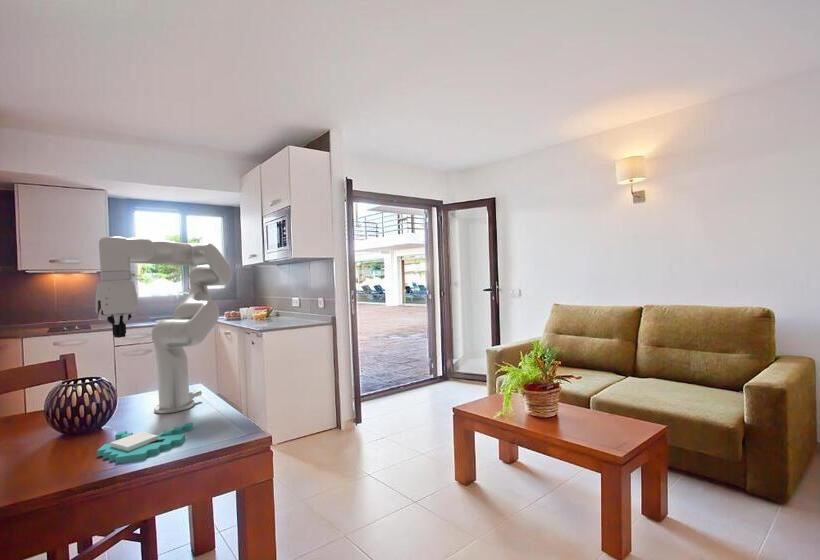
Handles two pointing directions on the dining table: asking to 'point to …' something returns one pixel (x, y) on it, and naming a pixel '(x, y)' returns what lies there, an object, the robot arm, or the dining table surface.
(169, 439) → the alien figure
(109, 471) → the dining table surface
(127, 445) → the tile
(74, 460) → the dining table surface
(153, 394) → the dining table surface
